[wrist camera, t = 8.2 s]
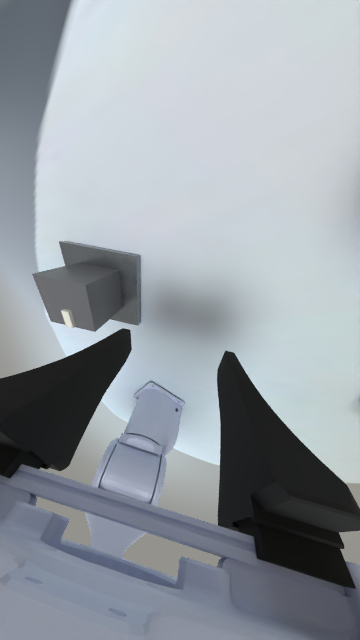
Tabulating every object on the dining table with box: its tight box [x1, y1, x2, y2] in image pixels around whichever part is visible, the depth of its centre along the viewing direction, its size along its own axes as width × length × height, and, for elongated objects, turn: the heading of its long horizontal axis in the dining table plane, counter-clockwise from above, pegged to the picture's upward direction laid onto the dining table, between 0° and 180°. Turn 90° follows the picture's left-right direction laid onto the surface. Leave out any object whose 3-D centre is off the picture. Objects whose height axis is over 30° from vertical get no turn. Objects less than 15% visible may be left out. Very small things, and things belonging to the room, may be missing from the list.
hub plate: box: [59, 241, 140, 325], centre depth 19 cm, size 10×10×4 cm
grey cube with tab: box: [32, 263, 122, 332], centre depth 17 cm, size 5×5×6 cm
